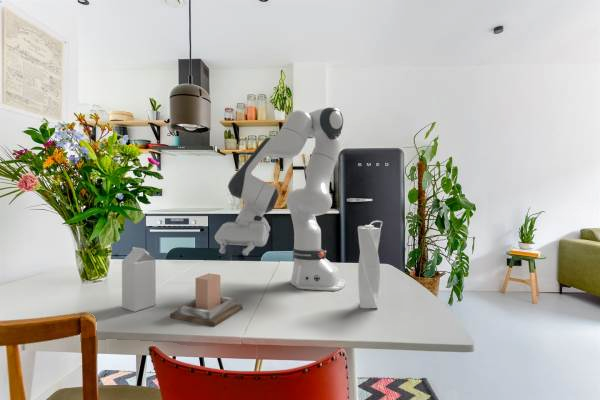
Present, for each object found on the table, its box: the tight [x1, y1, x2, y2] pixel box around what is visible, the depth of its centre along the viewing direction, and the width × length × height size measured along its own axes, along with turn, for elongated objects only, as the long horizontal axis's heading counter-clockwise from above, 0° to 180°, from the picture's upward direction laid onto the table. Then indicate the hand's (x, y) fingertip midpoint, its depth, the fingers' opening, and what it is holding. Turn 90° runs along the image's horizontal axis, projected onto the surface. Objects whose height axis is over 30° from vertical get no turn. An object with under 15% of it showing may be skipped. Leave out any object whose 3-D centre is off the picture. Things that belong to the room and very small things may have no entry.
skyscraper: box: [357, 219, 384, 310], centre depth 100 cm, size 8×7×28 cm
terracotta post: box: [195, 273, 221, 310], centre depth 93 cm, size 4×6×10 cm
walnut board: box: [169, 295, 244, 327], centre depth 93 cm, size 16×14×3 cm
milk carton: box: [121, 246, 157, 312], centre depth 98 cm, size 7×7×19 cm
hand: (232, 253), depth 105 cm, fingers open, 8 cm apart
